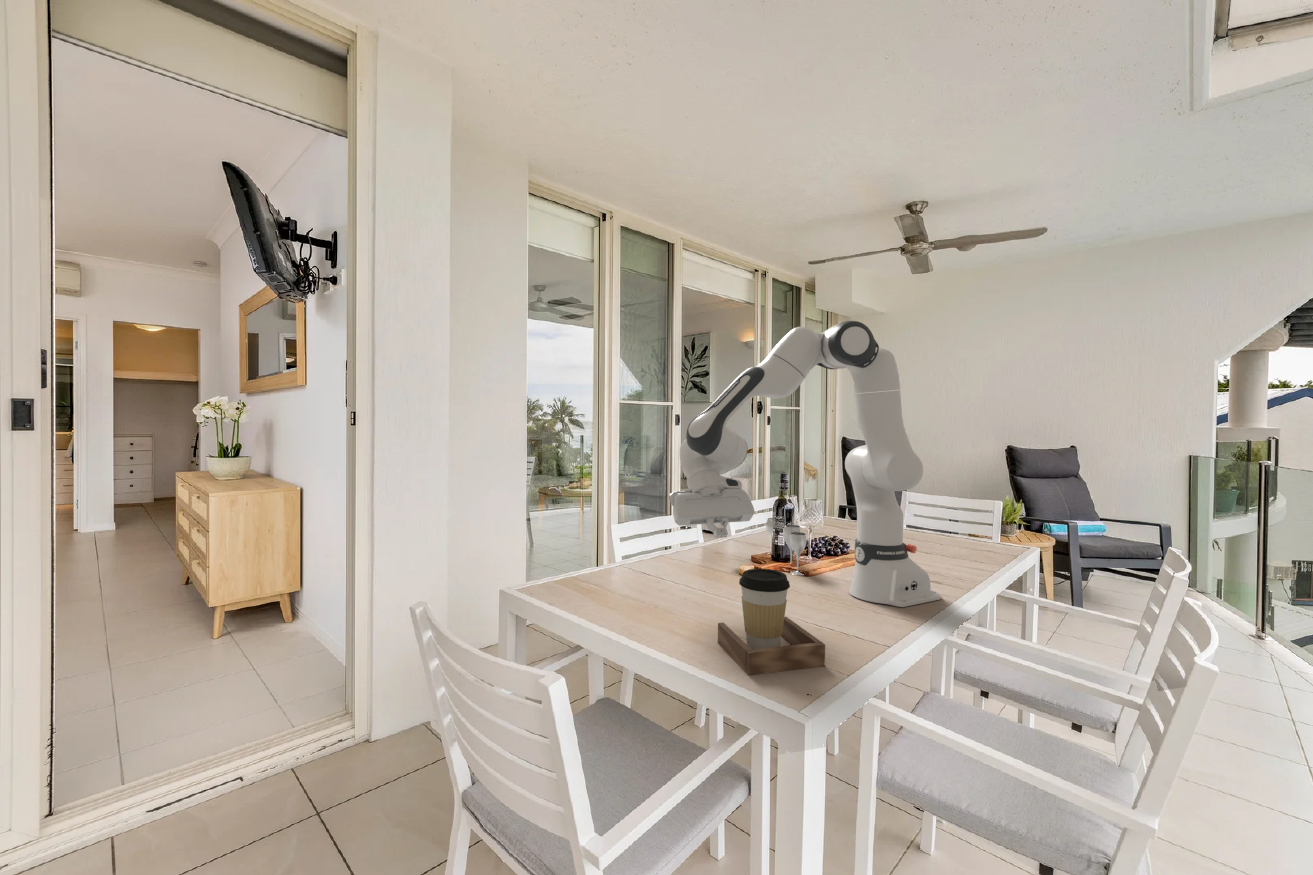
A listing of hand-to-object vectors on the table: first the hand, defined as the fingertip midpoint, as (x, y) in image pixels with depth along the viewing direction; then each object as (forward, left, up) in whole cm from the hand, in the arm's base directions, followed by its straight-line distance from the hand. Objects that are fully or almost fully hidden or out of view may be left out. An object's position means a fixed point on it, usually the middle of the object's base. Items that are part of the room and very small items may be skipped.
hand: (721, 536), depth 131 cm
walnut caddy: (0, +25, -18) cm, 31 cm away
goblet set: (-36, -35, -18) cm, 53 cm away
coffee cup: (0, +24, -18) cm, 30 cm away
